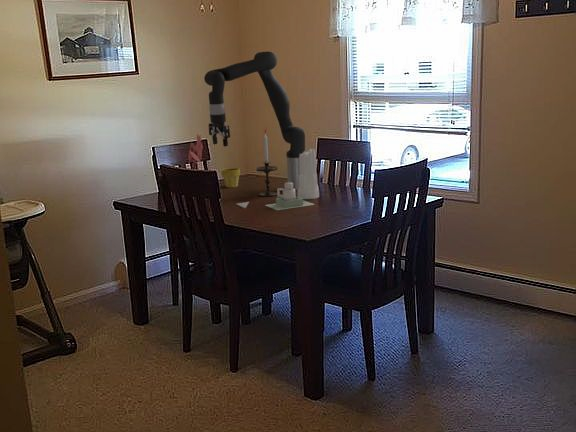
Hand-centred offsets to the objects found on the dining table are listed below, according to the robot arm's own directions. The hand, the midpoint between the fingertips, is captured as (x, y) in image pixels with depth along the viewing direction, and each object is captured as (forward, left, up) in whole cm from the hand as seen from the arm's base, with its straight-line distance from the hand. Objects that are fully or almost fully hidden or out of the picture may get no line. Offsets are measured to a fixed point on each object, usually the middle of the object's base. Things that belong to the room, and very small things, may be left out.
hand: (220, 145), depth 338 cm
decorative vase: (-37, +22, -28) cm, 51 cm away
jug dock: (-21, +33, -28) cm, 48 cm away
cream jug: (-20, +32, -27) cm, 47 cm away
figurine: (+12, +5, -28) cm, 31 cm away
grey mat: (-8, +19, -28) cm, 35 cm away
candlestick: (-24, +2, -28) cm, 37 cm away
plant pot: (-18, -34, -28) cm, 48 cm away
